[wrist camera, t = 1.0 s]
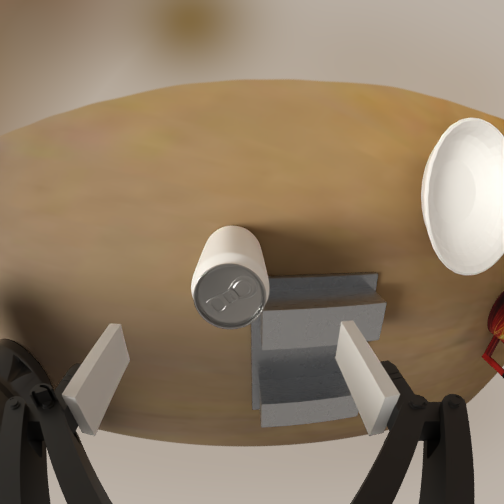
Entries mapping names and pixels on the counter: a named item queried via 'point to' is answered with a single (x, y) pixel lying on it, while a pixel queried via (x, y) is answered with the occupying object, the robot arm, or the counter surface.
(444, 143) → the bowl
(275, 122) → the counter surface
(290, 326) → the gray metal fixture
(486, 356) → the mug
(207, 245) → the can
